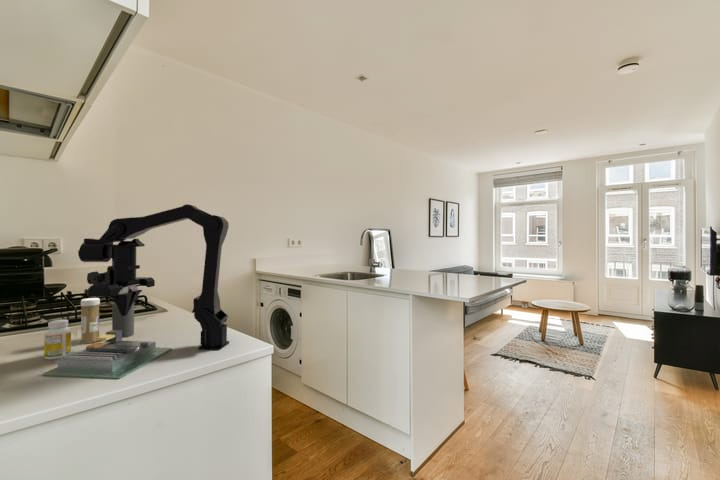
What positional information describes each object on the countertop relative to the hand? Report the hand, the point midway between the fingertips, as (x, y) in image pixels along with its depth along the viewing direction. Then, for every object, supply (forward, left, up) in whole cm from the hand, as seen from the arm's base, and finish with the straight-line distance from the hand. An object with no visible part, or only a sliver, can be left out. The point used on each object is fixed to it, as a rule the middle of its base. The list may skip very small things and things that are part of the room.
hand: (124, 315), depth 94 cm
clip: (+1, +4, -7) cm, 8 cm away
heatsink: (-4, +8, -10) cm, 14 cm away
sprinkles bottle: (+16, -6, -10) cm, 20 cm away
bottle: (+11, -13, -10) cm, 19 cm away
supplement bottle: (+14, +6, -10) cm, 18 cm away
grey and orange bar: (-5, +8, -7) cm, 12 cm away
